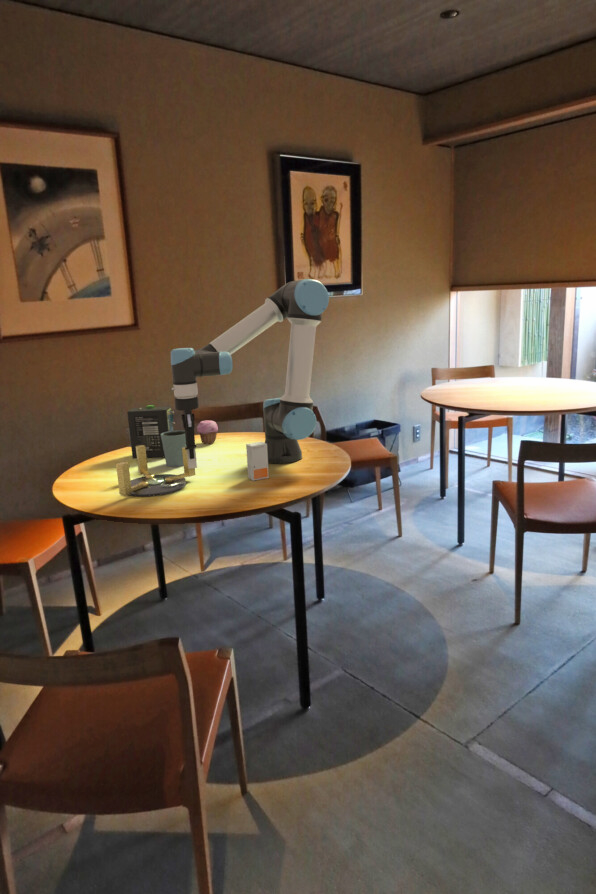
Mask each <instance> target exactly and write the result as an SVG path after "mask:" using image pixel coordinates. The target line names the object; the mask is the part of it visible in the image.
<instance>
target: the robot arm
mask: <svg viewBox="0 0 596 894" xmlns="http://www.w3.org/2000/svg"><path fill="white" fill-rule="evenodd" d="M329 302H330V297H329V292H328V289H327V288H326V287H325V285H324V284H323V283H322V282H321V281H319V280H317V279H312V278H304V279H300V280H299V279H298V280H292V281H289V282H287V283H285V284H284V285H282V286H281V287H280V288H279V289H277V290H276V291H275V292H273V293H272V294H271V295H270V296H268V297H267V298H265V300H264V304H262V305H261V306H259V307H258V308H256V309H255V310H253V311H252V312H251V313H249V314H248V315H246V316H245V317H244V318H242V319H241V320H240V321H238V322H237V323H236V324H234V325H232V327H229V329H227V330H226V331H224V332H222V334H220V335H218V337H216V338H215V339H213V340H211V341H210V342H209V343H208V344H206V345H204V346H203V347H201V348H199V349H197V350H194V348H193V347H179V348H173V349H171V350H170V366H171V376H172V384H173V385H172V386H173V387H171V391H173V395H174V396H173V397H175V398H174V409H175V410H176V411H182V412H183V413H182V414H181V420H182V427H183V430H185V439H186V447H185V450H187V458H188V468H189V469H190V468H195V469H196V468H198V464H197V454H196V452H197V451H196V448H198V447H197V444H196V437H195V420H196V419H195V416H196V415H195V414H194V413H193V412H192V410H197V409H198V408H199V407H200V405H199V397H198V395H199V390H198V389H199V388H198V382H197V378H202V377H211V376H213V377H215V376H223V375H224V376H225V375H230V374H231V373H232V371H233V367H234V365H233V357H232V354H234V353H235V352H237V351H239V349H241V348H243V347H244V346H245V345H246V344H248V343H250V342H251V341H252V340H253V339H255V338H256V337H257V336H259V335H261V334H262V333H263V332H264V331H266V330H268V329H269V328H271V327H272V326H273V325H274V324H276V323H277V322H279V323H282V322H283V321H285V320H286V319H287V320H288V322H289V323H290V333H289V334H290V335H289V344H288V356H287V369H286V380H285V389H284V390H285V391H284V394H283V395H281V397H276V398H269V399H268V398H266V399H265V400H264V401H263V405H262V406H263V407H262V411H263V412H262V413H263V421H264V422H263V423H264V425H263V426H264V443H266V444H267V453H268V464H289V463H290V464H291V463H295V462H298V461H300V460H301V459H303V453H302V452H303V451H302V449H301V446H300V443H299V440H300V441H301V440H305V439H306V438H309V437H310V436H311V435H312V434H313V433H314V431H315V429H316V426H317V417H316V414H315V413H314V411H313V408H314V400H313V399H312V398H311V396H310V392H311V385H312V383H311V382H312V373H313V363H314V352H315V343H316V331H317V326H319V325H320V324H321V323H322V317H323V313H324V312H325V310H326V309H327V308H328V306H329ZM299 459H300V460H299Z"/></svg>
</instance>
